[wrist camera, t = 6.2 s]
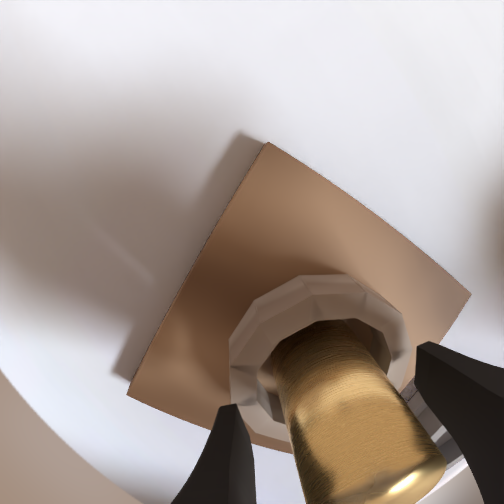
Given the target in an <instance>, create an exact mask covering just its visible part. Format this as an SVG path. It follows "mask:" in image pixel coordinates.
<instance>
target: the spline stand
mask: <svg viewBox="0 0 504 504" xmlns="http://www.w3.org/2000/svg"><path fill="white" fill-rule="evenodd" d="M407 405H408V406H409V408H410V409H411V410H412V412H413V413H414V415H415V416H416V417H417V419H418V420H419V422H420V423H421V424H422V426H423V427H424V429H425V430H426V432H427V433H428V434H429V436H430V437H431V439H432V440H433V442H434V443H435V444H436V446H437V447H438V449H439V450H440V452H441V453H442V455H443V456H444V457H445V459H446V461H447V467H446V470H448V469H449V468H451V467H452V466H454V465H455V464H456V463H458V462H459V461H461V460H462V459H463V458H465V457H464V456H463V454H462V452H461V450H460V449H459V447H458V445H457V443H456V442H455V440H454V439H453V438H452V436H451V435H450V434H449V432H448V431H447V430H446V428H445V427H444V426H443V425H442V423H441V422H440V421H439V420H438V418H437V417H436V416H435V414H434V413H433V412H432V411H431V409H430V408H429V407H428V405H427V404H426V403H425V401H424V400H423V398H422V396H421V395H420V393H419V391H417V392H416V393H415V394H414V396H413V397H412V398H411V399H410V400H409V401H408V402H407ZM446 470H445V471H446Z"/></svg>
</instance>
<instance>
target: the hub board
mask: <svg viewBox="0 0 504 504" xmlns="http://www.w3.org/2000/svg"><path fill="white" fill-rule="evenodd" d="M470 296H471V293H470V292H469V291H468V290H467V289H465V288H464V287H463V286H462V285H461V284H460V283H459V282H458V281H457V280H456V279H454V278H453V277H452V276H451V275H450V274H449V273H448V272H446V271H445V270H444V269H443V268H442V267H441V266H439V265H438V264H437V263H436V262H435V261H434V260H432V259H431V258H430V257H429V256H428V255H426V254H425V253H424V252H423V251H422V250H420V249H419V248H418V247H417V246H416V245H414V244H413V243H412V242H411V241H409V240H408V239H407V238H406V237H404V236H403V235H402V234H401V233H399V232H398V231H397V230H395V229H394V228H393V227H392V226H390V225H389V224H388V223H386V222H385V221H384V220H383V219H381V218H380V217H379V216H377V215H376V214H375V213H373V212H372V211H371V210H369V209H368V208H366V207H365V206H364V205H362V204H361V203H360V202H358V201H357V200H355V199H354V198H353V197H351V196H350V195H349V194H347V193H346V192H344V191H343V190H341V189H340V188H339V187H337V186H336V185H334V184H333V183H331V182H330V181H328V180H327V179H326V178H324V177H323V176H321V175H320V174H318V173H317V172H315V171H314V170H312V169H311V168H309V167H308V166H306V165H305V164H303V163H301V162H300V161H298V160H297V159H295V158H294V157H292V156H291V155H289V154H287V153H286V152H284V151H283V150H281V149H279V148H278V147H276V146H275V145H273V144H271V143H270V142H267V143H266V144H265V145H264V146H263V148H262V149H261V151H260V153H259V154H258V156H257V158H256V159H255V161H254V162H253V164H252V166H251V167H250V169H249V171H248V172H247V174H246V176H245V177H244V179H243V180H242V182H241V184H240V185H239V187H238V189H237V190H236V192H235V194H234V195H233V197H232V199H231V201H230V202H229V204H228V206H227V207H226V209H225V211H224V212H223V214H222V216H221V217H220V219H219V221H218V223H217V224H216V226H215V228H214V230H213V231H212V233H211V235H210V236H209V238H208V240H207V242H206V243H205V245H204V247H203V249H202V250H201V252H200V254H199V256H198V257H197V259H196V261H195V263H194V265H193V266H192V268H191V270H190V272H189V274H188V275H187V277H186V279H185V281H184V283H183V284H182V286H181V288H180V290H179V292H178V293H177V295H176V297H175V299H174V301H173V303H172V304H171V306H170V308H169V310H168V312H167V314H166V316H165V317H164V319H163V321H162V323H161V325H160V327H159V329H158V331H157V333H156V334H155V336H154V338H153V340H152V342H151V344H150V346H149V348H148V350H147V352H146V354H145V356H144V358H143V359H142V361H141V363H140V365H139V367H138V369H137V371H136V373H135V375H134V377H133V379H132V381H131V383H130V386H129V389H128V392H127V394H126V395H128V396H130V397H132V398H134V399H136V400H138V401H140V402H142V403H145V404H147V405H149V406H151V407H153V408H156V409H158V410H160V411H163V412H165V413H167V414H170V415H172V416H175V417H177V418H180V419H182V420H185V421H187V422H190V423H192V424H195V425H198V426H200V427H203V428H206V429H209V430H212V427H213V424H214V421H215V418H216V415H217V412H218V409H219V407H220V406H225V405H229V404H234V403H236V404H237V406H238V409H239V411H240V414H241V416H242V419H243V421H244V424H245V426H246V428H247V431H248V433H249V436H250V440H251V443H252V444H255V445H259V446H263V447H266V448H270V449H274V450H278V451H282V452H286V453H290V454H293V451H292V447H291V443H290V439H289V435H288V431H287V427H286V423H285V419H284V415H283V411H282V407H281V403H280V399H279V395H278V391H277V387H276V383H275V379H274V375H273V371H272V367H271V363H270V355H271V352H272V351H273V350H274V348H275V347H276V345H277V344H278V343H279V341H281V340H283V339H284V338H286V337H288V336H290V335H292V334H294V333H296V332H298V331H299V330H301V329H303V328H305V327H307V326H309V325H310V324H312V323H314V322H316V321H320V320H335V319H341V320H343V321H344V322H346V323H347V324H348V325H349V326H350V328H351V329H352V330H353V332H354V333H355V334H356V336H357V337H358V338H359V339H360V341H361V342H362V343H363V345H364V346H365V347H366V349H367V350H368V352H369V353H370V354H371V356H372V357H373V358H374V360H375V361H376V362H377V364H378V365H379V366H380V368H381V369H382V370H383V372H384V373H385V374H386V376H387V377H388V379H389V380H390V381H391V383H392V384H393V385H394V387H395V388H396V390H397V391H398V392H399V394H400V393H401V392H402V390H403V389H404V388H405V387H406V386H407V384H408V383H409V382H410V381H411V380H412V378H413V377H414V376H415V366H416V347H417V346H418V345H420V344H423V343H425V342H427V341H431V342H434V343H436V344H439V343H440V342H441V340H442V339H443V337H444V336H445V335H446V333H447V332H448V330H449V329H450V327H451V326H452V324H453V323H454V321H455V320H456V318H457V317H458V315H459V314H460V312H461V310H462V309H463V307H464V306H465V304H466V302H467V301H468V299H469V297H470Z"/></svg>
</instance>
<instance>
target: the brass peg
mask: <svg viewBox="0 0 504 504" xmlns="http://www.w3.org/2000/svg"><path fill="white" fill-rule="evenodd" d="M270 363H271V367H272V371H273V375H274V379H275V383H276V387H277V391H278V395H279V399H280V403H281V407H282V411H283V415H284V419H285V423H286V427H287V431H288V435H289V439H290V443H291V447H292V451H293V455H294V458H295V462H296V466H297V470H298V474H299V478H300V482H301V486H302V490H303V493H304V497H305V501H306V504H415V503H416V502H418V501H419V500H420V499H422V498H423V497H424V496H425V495H426V494H427V493H429V492H430V491H431V490H432V489H433V488H434V487H435V485H436V484H437V483H438V482H439V481H440V479H441V478H442V476H443V474H444V472H445V470H446V467H447V461H446V459H445V457H444V456H443V455H442V453H441V452H440V450H439V449H438V447H437V446H436V444H435V443H434V442H433V440H432V439H431V437H430V436H429V434H428V433H427V432H426V430H425V429H424V427H423V426H422V424H421V423H420V422H419V420H418V419H417V417H416V416H415V415H414V413H413V412H412V410H411V409H410V408H409V406H408V405H407V403H406V402H405V401H404V399H403V398H402V396H401V395H400V394H399V392H398V391H397V390H396V388H395V387H394V385H393V384H392V383H391V381H390V380H389V379H388V377H387V376H386V374H385V373H384V372H383V370H382V369H381V368H380V366H379V365H378V364H377V362H376V361H375V360H374V358H373V357H372V356H371V354H370V353H369V352H368V350H367V349H366V347H365V346H364V345H363V343H362V342H361V341H360V339H359V338H358V337H357V336H356V334H355V333H354V332H353V330H352V329H351V328H350V326H349V325H348V324H347V323H346V322H344V321H343V320H341V319H335V320H320V321H316V322H314V323H312V324H310V325H309V326H307V327H305V328H303V329H301V330H299V331H298V332H296V333H294V334H292V335H290V336H288V337H286V338H284V339H283V340H281V341H279V343H278V344H277V345H276V347H275V348H274V350H273V351H272V352H271V355H270Z"/></svg>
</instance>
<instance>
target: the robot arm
mask: <svg viewBox="0 0 504 504" xmlns="http://www.w3.org/2000/svg"><path fill="white" fill-rule="evenodd" d="M414 384H415V386H416V388H417V389H418V391H419V393H420V395H421V396H422V398H423V400H424V401H425V403H426V404H427V405H428V407H429V408H430V409H431V411H432V412H433V413H434V414H435V416H436V417H437V418H438V420H439V421H440V422H441V423H442V425H443V426H444V427H445V428H446V430H447V431H448V432H449V434H450V435H451V436H452V438H453V439H454V440H455V442H456V443H457V445H458V447H459V449H460V450H461V452H462V454H463V456H464V457H465V459H466V461H467V463H468V465H469V467H470V469H471V471H472V473H473V476H474V478H475V480H476V482H477V484H478V487H479V489H480V492H481V495H482V498H483V501H484V504H504V368H500V367H497V366H493V365H490V364H487V363H484V362H481V361H478V360H475V359H473V358H470V357H467V356H465V355H462V354H460V353H458V352H455V351H453V350H450V349H448V348H446V347H443V346H441V345H439V344H436V343H434V342H431V341H427V342H425V343H423V344H420V345H418V346H417V347H416V366H415V380H414ZM171 504H256V487H255V469H254V457H253V451H252V445H251V440H250V436H249V433H248V431H247V428H246V426H245V424H244V421H243V419H242V416H241V414H240V411H239V409H238V406H237V404H236V403H234V404H229V405H225V406H220V407H219V409H218V412H217V415H216V418H215V421H214V424H213V427H212V430H211V433H210V435H209V438H208V440H207V442H206V445H205V447H204V450H203V452H202V454H201V456H200V458H199V460H198V462H197V464H196V466H195V468H194V470H193V471H192V473H191V475H190V477H189V478H188V480H187V481H186V483H185V484H184V486H183V488H182V489H181V490H180V492H179V493H178V495H177V496H176V497H175V499H174V500H173V501H172V503H171Z"/></svg>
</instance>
